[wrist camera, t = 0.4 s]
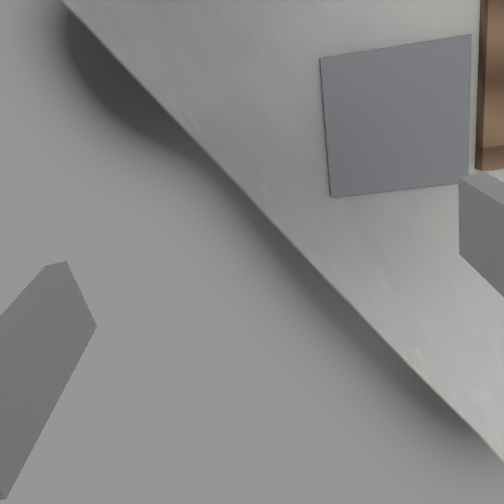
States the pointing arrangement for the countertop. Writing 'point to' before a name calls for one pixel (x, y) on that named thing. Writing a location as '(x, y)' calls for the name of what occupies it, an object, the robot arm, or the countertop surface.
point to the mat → (397, 116)
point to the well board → (490, 87)
